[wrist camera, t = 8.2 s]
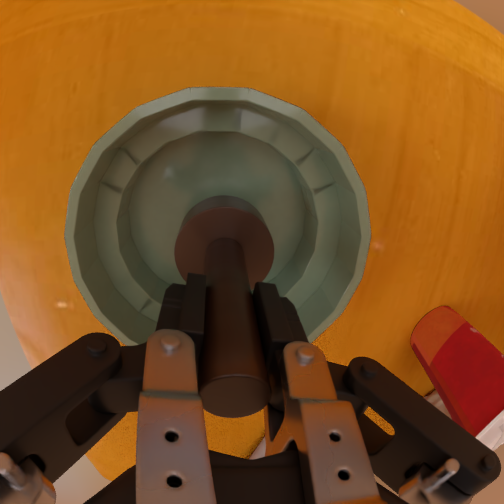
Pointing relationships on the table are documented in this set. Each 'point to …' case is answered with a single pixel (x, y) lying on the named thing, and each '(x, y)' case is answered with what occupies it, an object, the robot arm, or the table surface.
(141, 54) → the table surface
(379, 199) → the table surface
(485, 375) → the coffee cup
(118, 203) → the bowl
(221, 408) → the brown capped cylinder
